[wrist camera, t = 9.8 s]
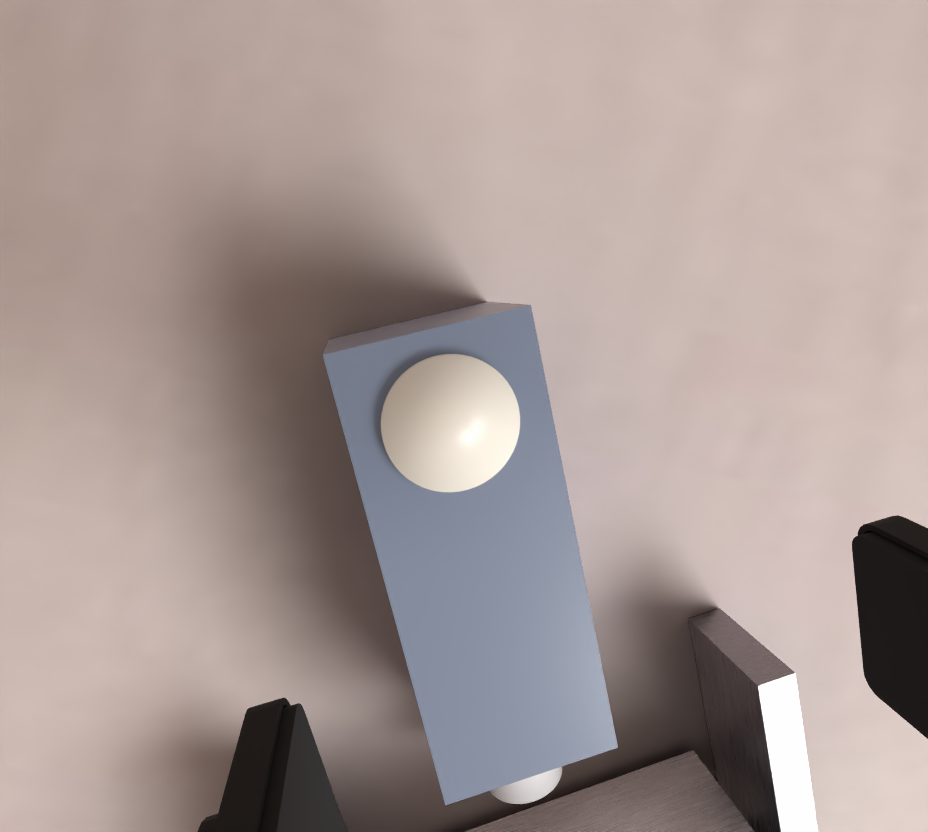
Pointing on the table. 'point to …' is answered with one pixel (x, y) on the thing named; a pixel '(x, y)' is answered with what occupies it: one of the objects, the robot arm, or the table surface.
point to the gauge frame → (753, 726)
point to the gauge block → (476, 544)
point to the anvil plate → (637, 804)
